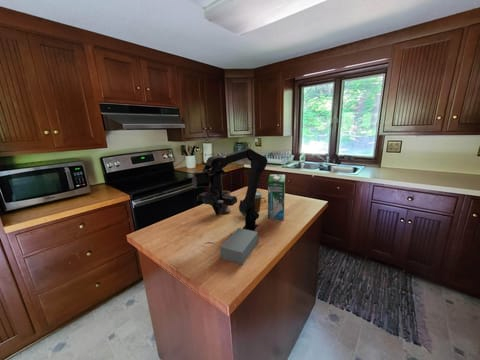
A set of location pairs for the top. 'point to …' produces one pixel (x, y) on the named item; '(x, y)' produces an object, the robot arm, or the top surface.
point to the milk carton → (276, 196)
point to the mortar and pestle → (225, 208)
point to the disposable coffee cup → (257, 201)
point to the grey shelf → (239, 246)
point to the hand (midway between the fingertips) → (217, 215)
